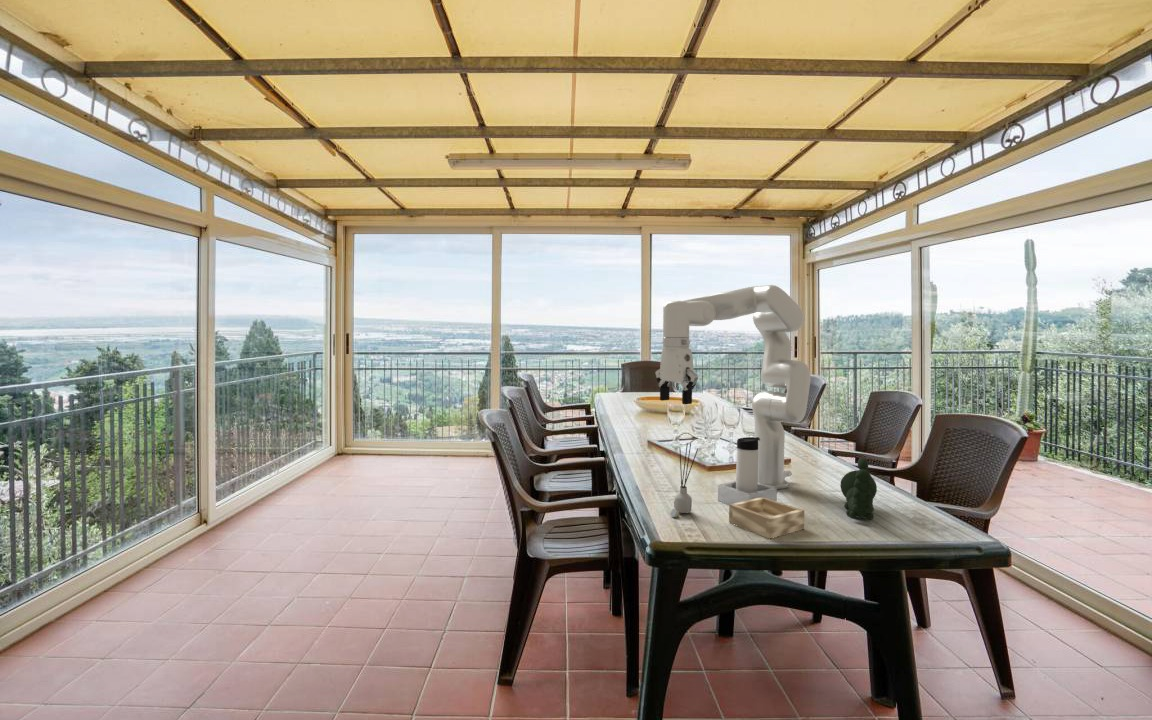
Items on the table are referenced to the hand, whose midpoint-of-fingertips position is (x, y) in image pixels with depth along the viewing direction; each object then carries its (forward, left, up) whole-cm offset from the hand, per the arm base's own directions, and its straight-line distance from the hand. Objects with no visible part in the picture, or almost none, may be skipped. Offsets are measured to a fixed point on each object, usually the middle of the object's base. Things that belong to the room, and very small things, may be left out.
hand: (675, 402), depth 160 cm
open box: (-21, +9, -31) cm, 38 cm away
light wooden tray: (-10, +25, -31) cm, 41 cm away
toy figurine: (-41, +32, -31) cm, 61 cm away
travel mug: (-21, +9, -31) cm, 39 cm away
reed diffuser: (+2, +7, -31) cm, 32 cm away
